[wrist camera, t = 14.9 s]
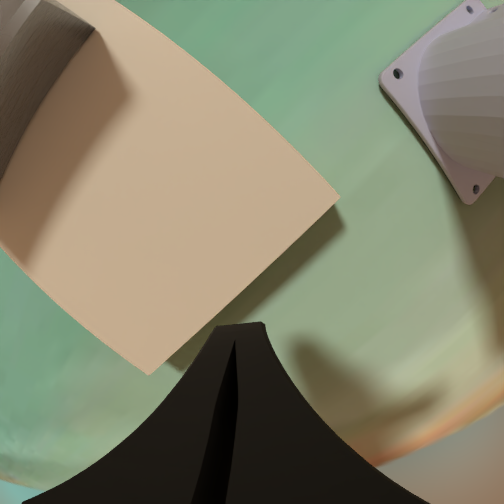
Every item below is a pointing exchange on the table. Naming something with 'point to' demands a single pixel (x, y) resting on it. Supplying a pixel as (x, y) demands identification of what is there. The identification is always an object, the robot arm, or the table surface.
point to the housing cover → (32, 61)
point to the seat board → (149, 190)
